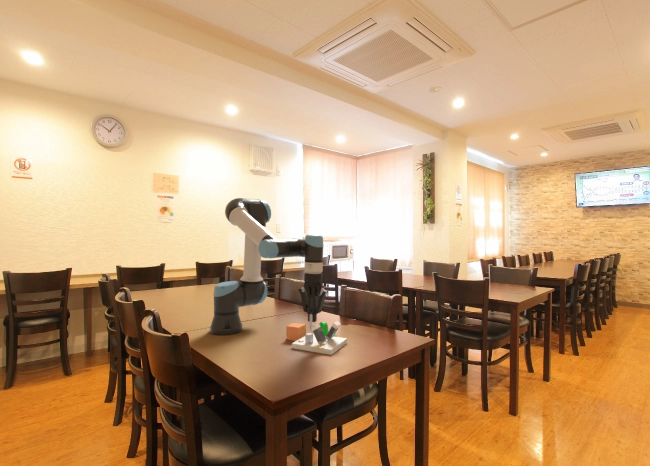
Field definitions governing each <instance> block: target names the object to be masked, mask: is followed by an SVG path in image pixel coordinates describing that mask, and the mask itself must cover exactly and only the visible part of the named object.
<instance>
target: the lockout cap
mask: <svg viewBox="0 0 650 466" xmlns="http://www.w3.org/2000/svg"><path fill="white" fill-rule="evenodd" d="M285 327H286V328H285V329H286V331H285V333H286V335H285V336H286V339H285V340H287V341H293V342H295V341H297V340H299V339H301V338H302V337H304V336H305V334H307V324H305V323H300V322H299V323H298V322H293V323H290V324H288V325H286V326H285Z"/></svg>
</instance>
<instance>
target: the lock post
mask: <svg viewBox="0 0 650 466" xmlns="http://www.w3.org/2000/svg"><path fill="white" fill-rule="evenodd" d="M312 333H313V332H312ZM312 333H311V332H306V334H305V343H309V344H311V343H313V334H314V333H313V334H312Z"/></svg>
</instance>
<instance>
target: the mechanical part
mask: <svg viewBox="0 0 650 466" xmlns="http://www.w3.org/2000/svg"><path fill="white" fill-rule="evenodd" d="M319 325H320V327H321V329H322V332H323V334H324V336H327V334H328V332H329V325H328V323H327V321H320V322H319ZM334 337H337V335H336V334H335V335H334Z"/></svg>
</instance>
